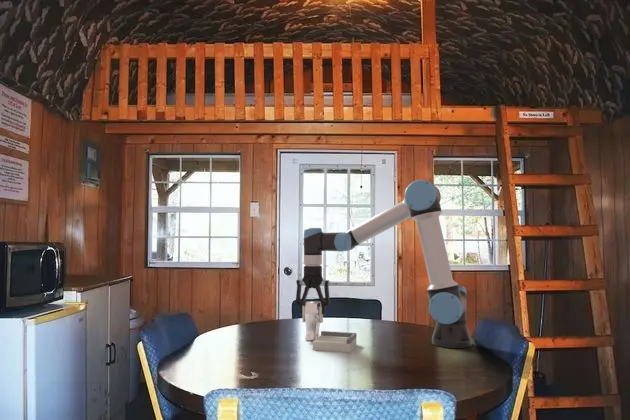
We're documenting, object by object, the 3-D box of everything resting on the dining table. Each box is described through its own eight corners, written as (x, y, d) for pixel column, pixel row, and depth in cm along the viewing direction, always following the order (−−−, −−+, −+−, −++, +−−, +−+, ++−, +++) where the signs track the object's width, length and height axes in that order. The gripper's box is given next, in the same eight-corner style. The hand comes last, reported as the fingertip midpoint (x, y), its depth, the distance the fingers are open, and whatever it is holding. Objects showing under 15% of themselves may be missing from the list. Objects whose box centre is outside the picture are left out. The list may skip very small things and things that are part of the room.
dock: (356, 344, 202) (356, 332, 202) (349, 352, 189) (349, 339, 189) (321, 342, 206) (321, 331, 206) (312, 349, 192) (312, 337, 192)
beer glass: (301, 340, 209) (301, 302, 210) (308, 337, 215) (308, 300, 216) (317, 341, 206) (317, 303, 207) (323, 338, 213) (323, 301, 214)
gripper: (337, 265, 214) (338, 321, 212) (292, 264, 219) (292, 319, 217) (334, 266, 206) (334, 324, 205) (287, 265, 211) (287, 322, 210)
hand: (312, 321), depth 211 cm, fingers closed on beer glass, 7 cm apart
